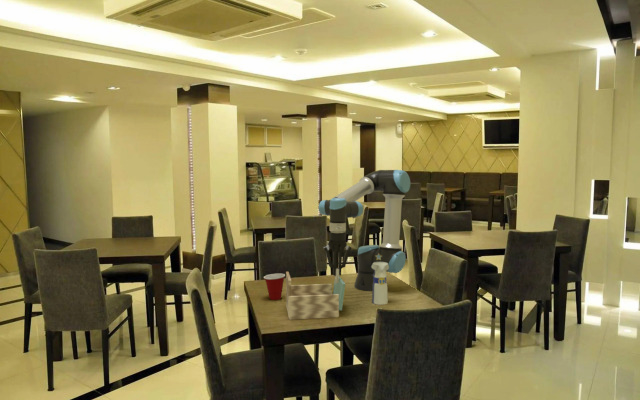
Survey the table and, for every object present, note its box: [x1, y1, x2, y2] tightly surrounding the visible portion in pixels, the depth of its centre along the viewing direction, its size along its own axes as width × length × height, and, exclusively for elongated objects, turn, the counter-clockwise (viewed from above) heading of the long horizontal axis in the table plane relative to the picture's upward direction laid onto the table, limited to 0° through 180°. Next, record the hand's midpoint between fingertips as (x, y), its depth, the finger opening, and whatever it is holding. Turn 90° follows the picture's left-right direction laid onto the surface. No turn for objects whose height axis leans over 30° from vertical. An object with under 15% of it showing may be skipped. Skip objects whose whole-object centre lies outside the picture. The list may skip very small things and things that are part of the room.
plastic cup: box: [263, 273, 286, 301], centre depth 237 cm, size 11×11×12 cm
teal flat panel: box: [332, 276, 346, 311], centre depth 217 cm, size 2×19×12 cm, turn 8°
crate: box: [285, 271, 340, 321], centre depth 215 cm, size 22×20×17 cm
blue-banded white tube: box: [371, 253, 389, 306], centre depth 229 cm, size 8×9×25 cm
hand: (336, 282), depth 217 cm, fingers closed
